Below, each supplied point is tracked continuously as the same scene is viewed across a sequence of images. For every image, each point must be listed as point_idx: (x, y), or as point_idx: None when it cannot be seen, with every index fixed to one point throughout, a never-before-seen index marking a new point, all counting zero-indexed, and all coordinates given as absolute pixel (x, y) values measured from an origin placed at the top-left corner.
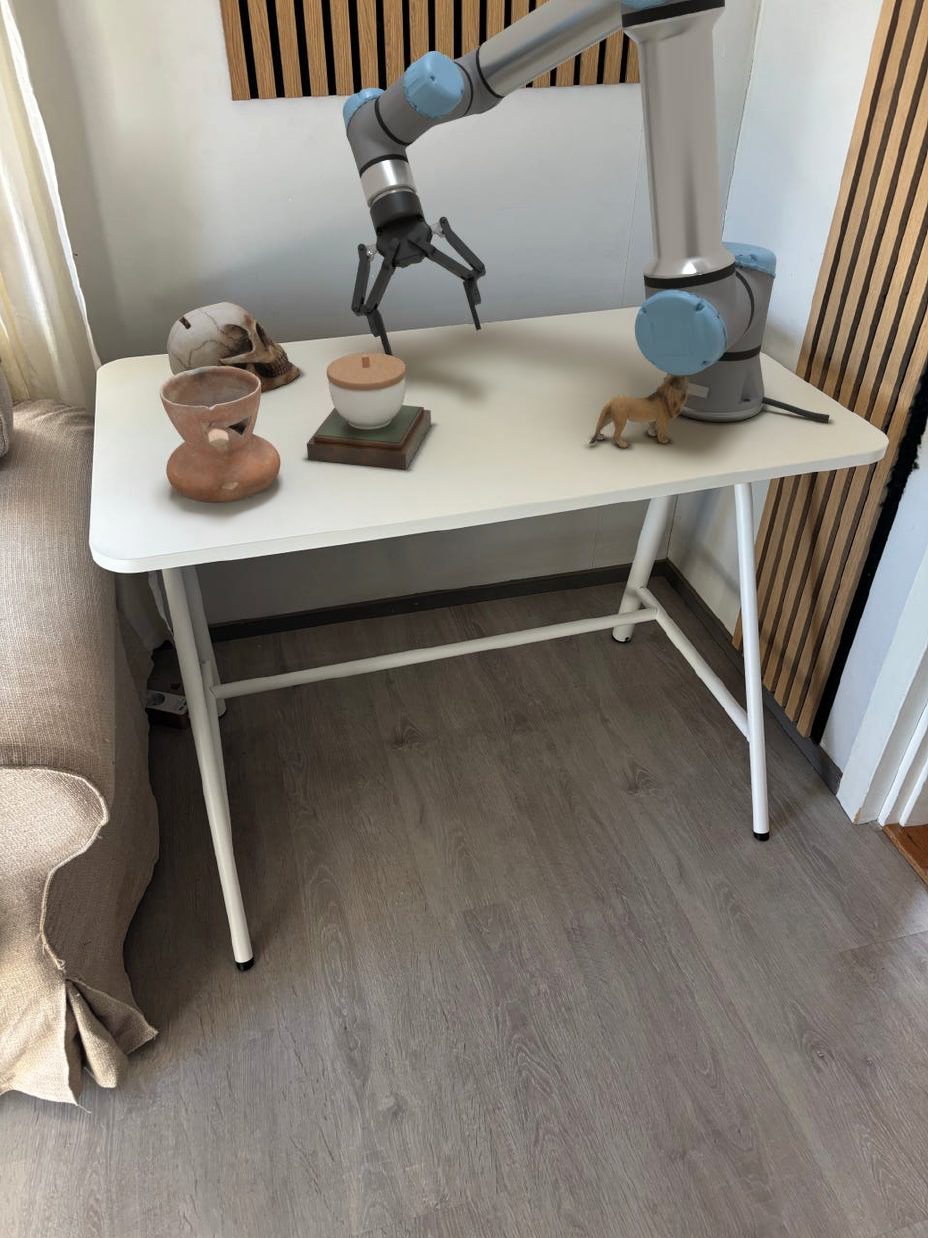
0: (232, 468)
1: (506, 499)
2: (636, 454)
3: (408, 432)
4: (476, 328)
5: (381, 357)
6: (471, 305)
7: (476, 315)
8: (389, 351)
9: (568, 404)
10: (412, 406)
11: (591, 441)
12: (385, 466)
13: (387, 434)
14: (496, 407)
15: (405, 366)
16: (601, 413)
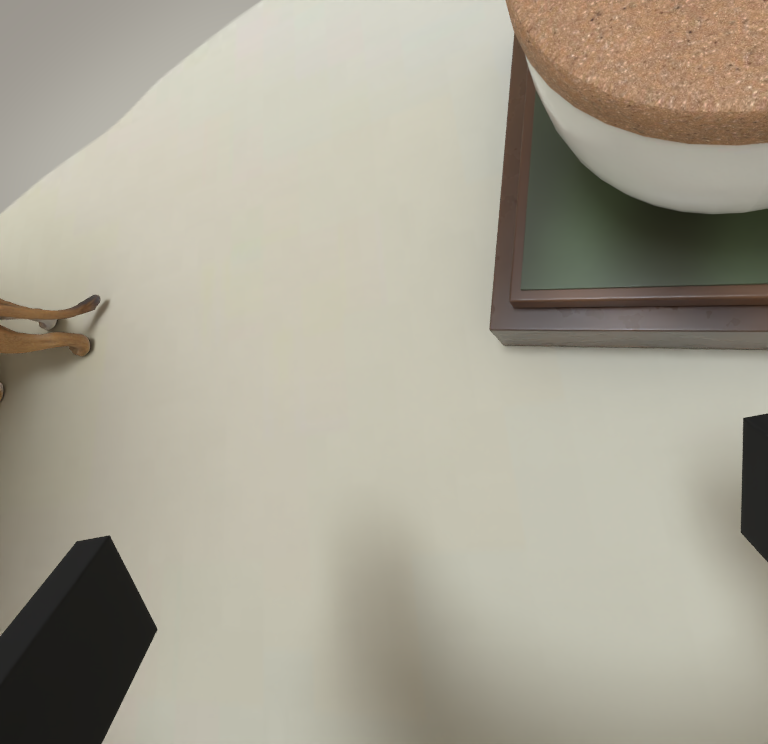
0: None
1: (271, 14)
2: (39, 291)
3: (526, 79)
4: (139, 599)
5: (711, 21)
6: (8, 650)
7: (49, 584)
8: (750, 421)
9: (122, 555)
10: (556, 287)
11: (92, 296)
12: None
13: None
14: (304, 520)
15: (508, 5)
16: (13, 308)
